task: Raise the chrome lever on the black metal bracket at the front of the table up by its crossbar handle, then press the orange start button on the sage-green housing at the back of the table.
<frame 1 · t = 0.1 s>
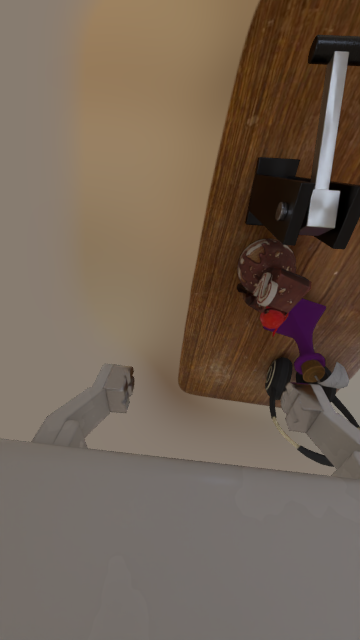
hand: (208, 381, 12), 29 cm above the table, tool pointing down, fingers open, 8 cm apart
chocolate birthday cake: (257, 261, 38), on the table
bracket: (269, 193, 32), on the table
headphones: (290, 364, 50), on the table
lever: (325, 140, 18), point 13 cm above the table, hinge at -28.0°
perfume bottle: (287, 307, 42), on the table
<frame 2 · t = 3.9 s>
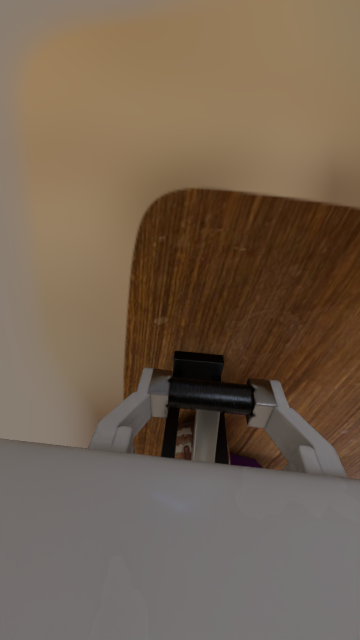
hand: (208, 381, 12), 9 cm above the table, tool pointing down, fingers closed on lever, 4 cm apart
chocolate birthday cake: (195, 427, 32), on the table
bracket: (195, 379, 26), on the table
lever: (197, 509, 12), point 13 cm above the table, hinge at -28.0°, touching gripper
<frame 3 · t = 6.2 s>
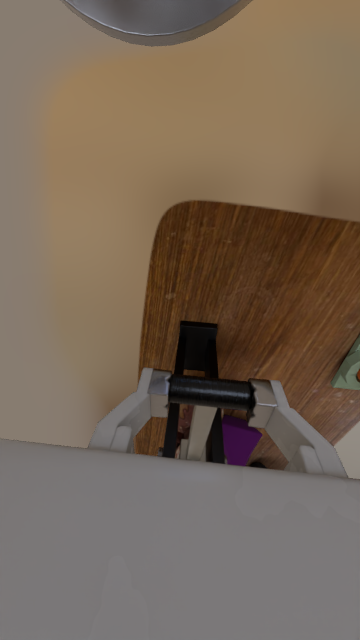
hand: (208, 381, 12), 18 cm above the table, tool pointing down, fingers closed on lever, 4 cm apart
chocolate birthday cake: (195, 389, 39), on the table
bracket: (196, 344, 34), on the table
lever: (197, 436, 16), point 17 cm above the table, hinge at 10.9°, touching gripper
perfume bottle: (230, 422, 43), on the table
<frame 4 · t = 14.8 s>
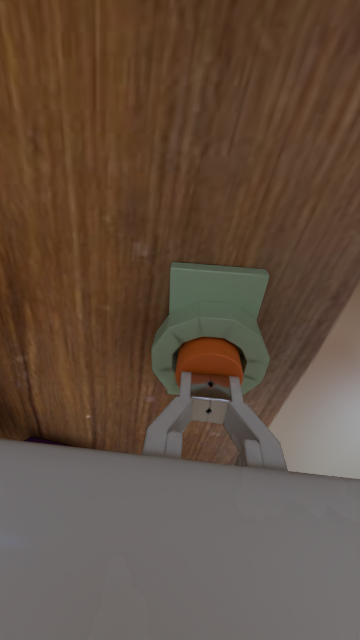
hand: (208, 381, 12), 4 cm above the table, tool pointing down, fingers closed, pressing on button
button box: (207, 338, 15), on the table
button: (208, 367, 13), point 3 cm above the table, slide at -0.3 cm, touching gripper
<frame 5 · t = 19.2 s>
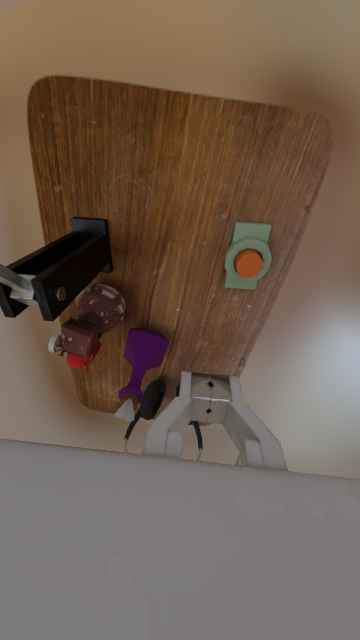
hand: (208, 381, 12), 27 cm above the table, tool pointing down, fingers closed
chocolate birthday cake: (108, 299, 42), on the table
button box: (245, 256, 35), on the table
bracket: (94, 245, 36), on the table
headphones: (171, 385, 54), on the table
button: (248, 263, 33), point 3 cm above the table, slide at 0.1 cm
perfume bottle: (149, 337, 46), on the table
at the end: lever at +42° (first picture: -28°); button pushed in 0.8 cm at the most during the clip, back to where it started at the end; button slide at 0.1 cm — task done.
